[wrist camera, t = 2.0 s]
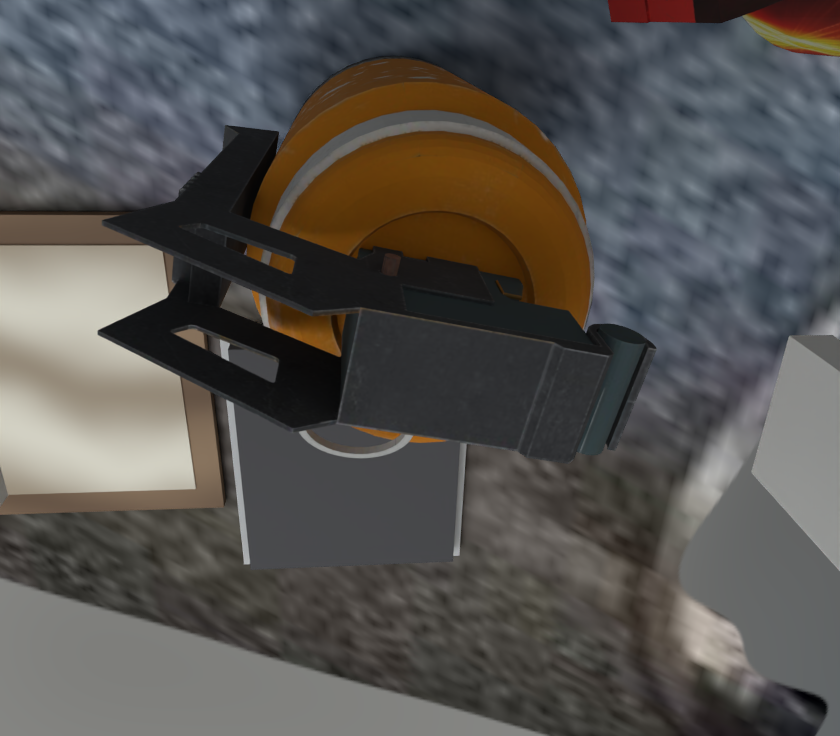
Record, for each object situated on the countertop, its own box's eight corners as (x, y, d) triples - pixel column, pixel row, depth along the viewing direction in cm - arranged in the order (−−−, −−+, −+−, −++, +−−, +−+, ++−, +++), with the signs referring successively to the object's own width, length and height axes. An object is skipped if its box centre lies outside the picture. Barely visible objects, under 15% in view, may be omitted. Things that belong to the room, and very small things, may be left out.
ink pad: (221, 325, 32) (215, 339, 31) (472, 322, 33) (477, 336, 32) (245, 556, 38) (241, 577, 37) (457, 548, 39) (461, 568, 38)
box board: (-136, 210, 29) (-147, 215, 28) (192, 212, 30) (188, 216, 29) (-40, 508, 35) (-47, 517, 35) (225, 500, 37) (223, 508, 36)
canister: (468, 288, 33) (611, 618, 15) (223, 241, 31) (46, 557, 13) (524, 84, 29) (806, 196, 11) (249, 16, 27) (49, 17, 9)
